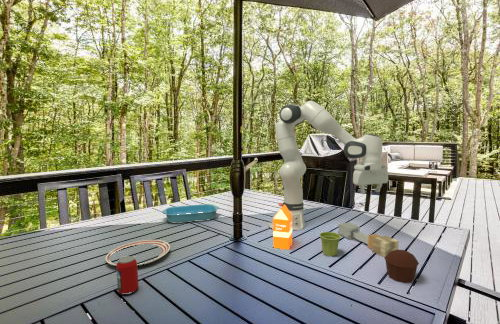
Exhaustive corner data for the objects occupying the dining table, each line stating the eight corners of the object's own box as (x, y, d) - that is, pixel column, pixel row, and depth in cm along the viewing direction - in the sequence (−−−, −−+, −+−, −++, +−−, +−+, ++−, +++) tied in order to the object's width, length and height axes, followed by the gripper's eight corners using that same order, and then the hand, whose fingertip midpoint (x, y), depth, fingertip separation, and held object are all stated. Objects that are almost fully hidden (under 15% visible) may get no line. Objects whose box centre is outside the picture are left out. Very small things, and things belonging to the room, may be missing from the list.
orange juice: (273, 248, 135) (272, 207, 133) (277, 241, 144) (277, 203, 142) (288, 250, 133) (288, 209, 131) (292, 243, 141) (292, 204, 139)
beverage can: (122, 286, 103) (120, 255, 102) (141, 285, 104) (139, 254, 102) (115, 297, 96) (112, 263, 95) (135, 295, 97) (133, 262, 96)
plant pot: (340, 250, 131) (341, 232, 130) (340, 259, 122) (340, 240, 121) (320, 248, 134) (320, 230, 133) (318, 256, 125) (318, 237, 124)
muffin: (402, 287, 99) (403, 260, 98) (377, 273, 109) (377, 249, 108) (425, 280, 104) (426, 254, 103) (398, 267, 114) (399, 243, 113)
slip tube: (379, 252, 128) (380, 240, 127) (350, 238, 145) (350, 227, 145) (386, 250, 129) (387, 238, 129) (356, 237, 147) (357, 226, 146)
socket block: (384, 257, 123) (385, 243, 122) (372, 251, 129) (372, 238, 129) (398, 254, 126) (398, 240, 125) (385, 248, 132) (385, 235, 132)
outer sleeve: (348, 239, 144) (349, 228, 144) (338, 234, 151) (338, 224, 151) (359, 237, 147) (359, 226, 146) (348, 232, 154) (349, 222, 154)
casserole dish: (216, 212, 202) (215, 202, 201) (222, 220, 181) (221, 210, 180) (162, 217, 191) (162, 207, 191) (162, 227, 170) (162, 215, 169)
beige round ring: (106, 278, 110) (105, 270, 109) (105, 252, 134) (105, 246, 134) (176, 262, 122) (176, 255, 122) (164, 241, 147) (164, 235, 146)
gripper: (382, 164, 149) (380, 189, 150) (351, 166, 141) (350, 192, 143) (392, 165, 143) (390, 192, 144) (360, 167, 135) (359, 195, 137)
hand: (370, 192), depth 143 cm, fingers open, 8 cm apart
